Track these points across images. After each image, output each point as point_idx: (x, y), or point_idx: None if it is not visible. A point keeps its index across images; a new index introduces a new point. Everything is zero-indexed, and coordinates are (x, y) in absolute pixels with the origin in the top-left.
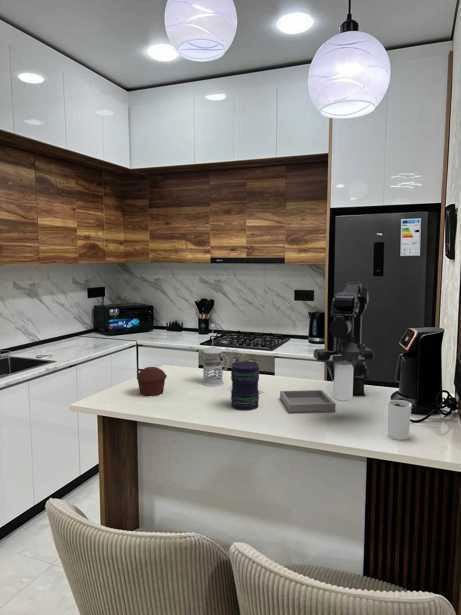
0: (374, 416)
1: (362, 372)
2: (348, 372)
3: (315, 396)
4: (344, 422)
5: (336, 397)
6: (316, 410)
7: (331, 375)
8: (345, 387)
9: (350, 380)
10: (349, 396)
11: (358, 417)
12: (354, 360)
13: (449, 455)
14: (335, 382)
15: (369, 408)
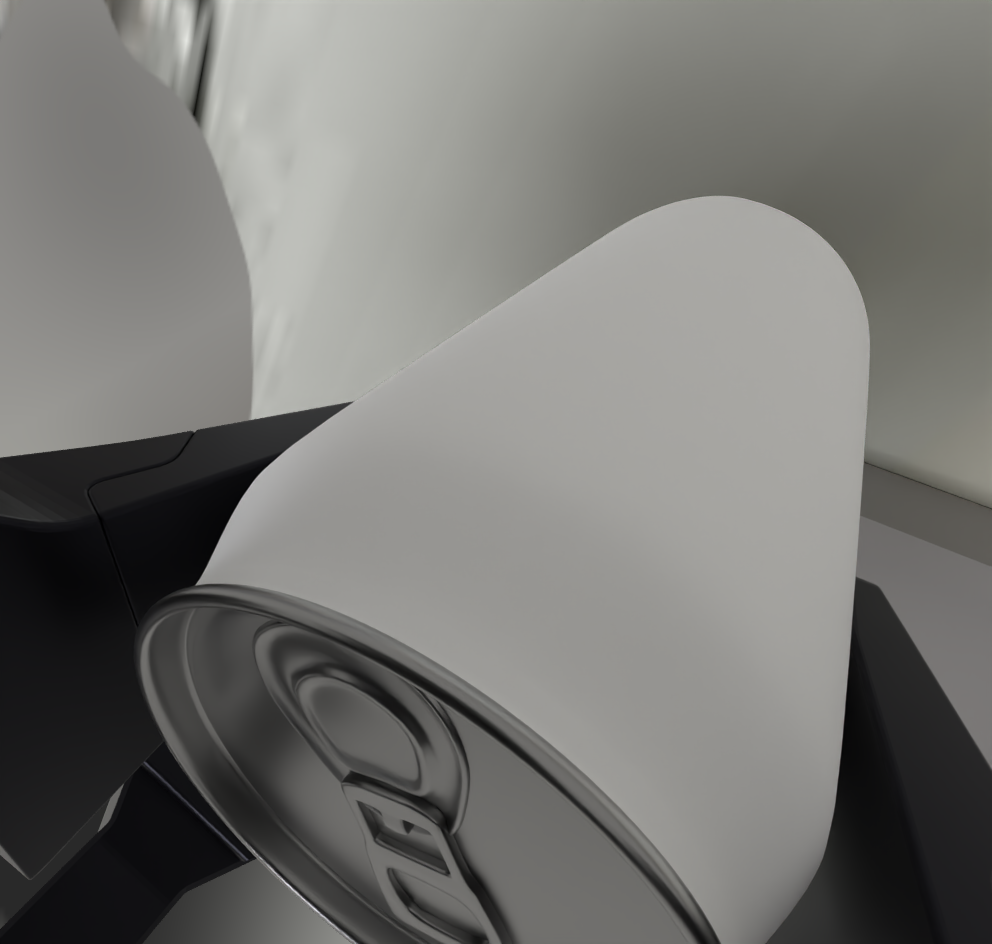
0: (438, 162)
1: None
2: (495, 389)
3: None
4: (866, 76)
5: (865, 323)
6: (931, 499)
7: (923, 698)
8: (719, 262)
9: (536, 294)
10: (667, 209)
11: (594, 189)
12: (17, 712)
13: None
14: (861, 489)
15: (396, 354)
